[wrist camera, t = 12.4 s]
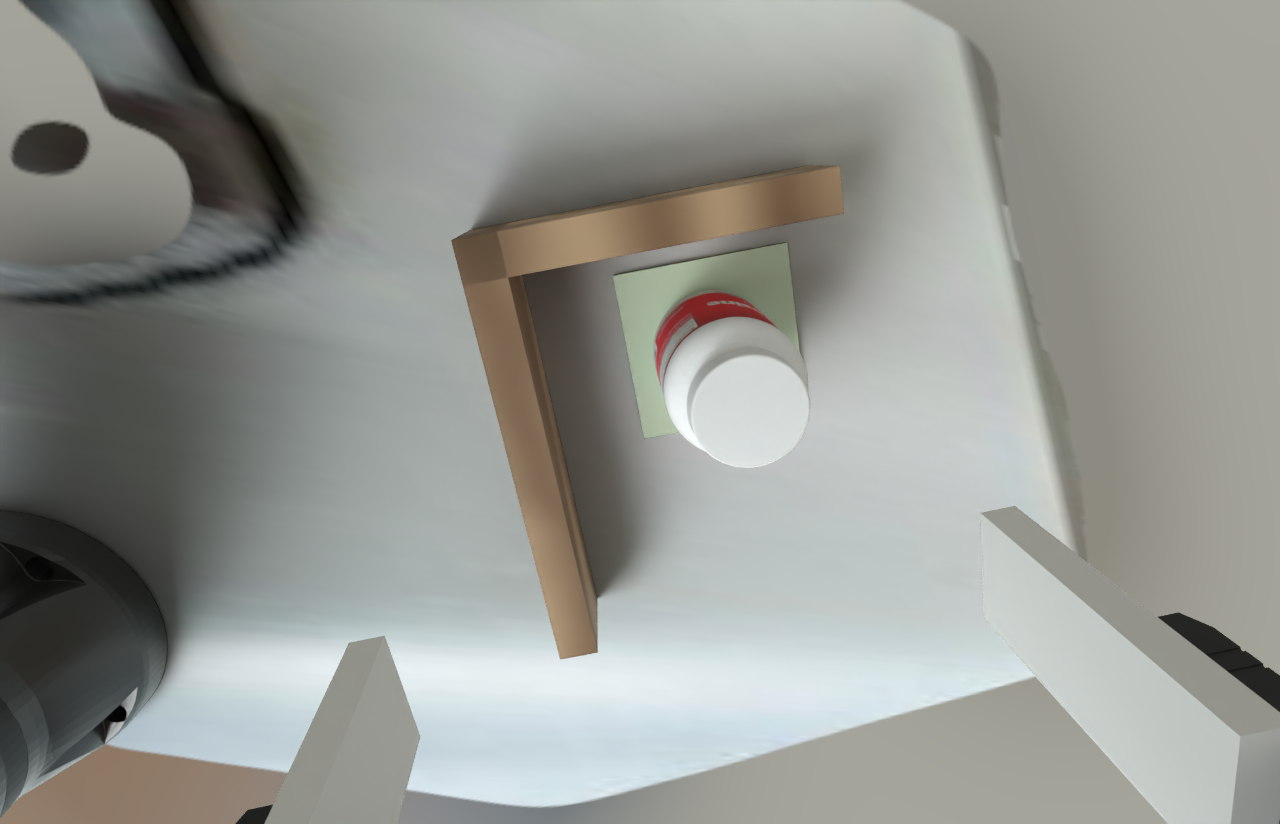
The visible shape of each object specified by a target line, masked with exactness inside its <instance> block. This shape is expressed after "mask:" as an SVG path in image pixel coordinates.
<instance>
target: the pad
mask: <svg viewBox="0 0 1280 824" xmlns="http://www.w3.org/2000/svg"><path fill="white" fill-rule="evenodd" d="M613 280H614V285H615V291H616V296H617V301H618V306H619V311H620V317H621V322H622V327H623V332H624V337H625V343H626V348H627V353H628V358H629V363H630V369H631V374H632V379H633V384H634V389H635V395H636V400H637V405H638V410H639V415H640V421H641V426H642V431H643V436H644V439H646V438H652V437H657V436H662V435H668V434H673V433H678V432H679V431H678V429H677V428H676V427H675V425H674V424H673V422H672V420H671V418H670V416H669V414H668V411H667V409H666V405H665V401H664V397H663V394H662V390H661V386H660V382H659V379H658V374H657V371H656V367H655V363H654V356H653V344H654V337H655V333H656V330H657V328H658V326H659V324H660V322H661V320H662V318H663V317H664V315H665V314H666V313H667V312H668V310H669V309H670V308H671V307H672V306H673V305H675V304H676V303H677V302H678V301H680V300H682V299H683V298H685V297H687V296H689V295H691V294H694V293H697V292H701V291H707V290H720V291H726V292H730V293H733V294H736V295H738V296H740V297H742V298H744V299H745V300H747V301H748V302H750V303H751V304H752V305H753V306H755V307H756V308H757V309H758V310H759V311H760V312H761V313H763V314H764V315H765V316H766V317H767V318H768V319H769V320H770V321H771V322H772V323H773V324H775V325H776V326H777V327H778V328H779V329H780V330H781V331H782V332H783V333H784V334H785V335H786V336H787V337H788V338H789V339H790V340H791V341H792V342H793V344H794V345H795V346H796V348H797V349H798V351H799V353H800V350H799V341H798V332H797V324H796V315H795V306H794V297H793V288H792V279H791V270H790V262H789V253H788V244H787V242H786V243H780V244H775V245H770V246H765V247H760V248H754V249H749V250H744V251H739V252H733V253H728V254H723V255H718V256H712V257H707V258H702V259H697V260H691V261H686V262H681V263H676V264H670V265H665V266H660V267H655V268H650V269H644V270H639V271H634V272H629V273H623V274H618V275H613Z"/></svg>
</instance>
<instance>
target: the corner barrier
mask: <svg viewBox="0 0 1280 824" xmlns="http://www.w3.org/2000/svg"><path fill="white" fill-rule="evenodd" d="M843 213H844V208H843V196H842V185H841V173H840V166H811V165H808V166H803V167H798V168H792V169H787V170H782V171H777V172H771V173H766V174H761V175H756V176H751V177H745V178H740V179H735V180H730V181H724V182H719V183H714V184H709V185H704V186H698V187H693V188H688V189H683V190H677V191H672V192H667V193H662V194H657V195H651V196H646V197H641V198H636V199H630V200H625V201H620V202H615V203H610V204H604V205H599V206H594V207H589V208H583V209H578V210H573V211H568V212H563V213H557V214H552V215H547V216H542V217H536V218H531V219H526V220H521V221H515V222H510V223H505V224H500V225H495V226H489V227H484V228H479V229H474V230H469V231H468V232H466V233H464V234H462V235H460V236H458V237H457V238H455V239H453V240H451V241H452V245H453V249H454V253H455V257H456V260H457V264H458V268H459V272H460V276H461V280H462V284H463V287H464V291H465V295H466V299H467V303H468V307H469V310H470V314H471V318H472V322H473V326H474V330H475V334H476V337H477V341H478V345H479V349H480V353H481V357H482V360H483V364H484V368H485V372H486V376H487V380H488V384H489V387H490V391H491V395H492V399H493V403H494V407H495V410H496V414H497V418H498V422H499V426H500V430H501V434H502V437H503V441H504V445H505V449H506V453H507V457H508V460H509V464H510V468H511V472H512V476H513V480H514V484H515V487H516V491H517V495H518V499H519V503H520V507H521V510H522V514H523V518H524V522H525V526H526V530H527V534H528V537H529V541H530V545H531V549H532V553H533V557H534V560H535V564H536V568H537V572H538V576H539V580H540V584H541V587H542V591H543V595H544V599H545V603H546V607H547V610H548V614H549V618H550V622H551V626H552V630H553V634H554V637H555V641H556V645H557V649H558V653H559V657H560V659H565V658H571V657H576V656H581V655H587V654H592V653H597V652H598V650H597V596H596V591H595V587H594V583H593V578H592V574H591V570H590V566H589V561H588V557H587V553H586V548H585V544H584V540H583V535H582V531H581V527H580V523H579V518H578V514H577V510H576V505H575V501H574V497H573V492H572V488H571V484H570V480H569V475H568V471H567V467H566V462H565V458H564V454H563V449H562V445H561V441H560V437H559V432H558V428H557V424H556V419H555V415H554V411H553V406H552V402H551V398H550V394H549V389H548V385H547V381H546V376H545V372H544V368H543V363H542V359H541V355H540V351H539V346H538V342H537V338H536V333H535V329H534V325H533V320H532V316H531V312H530V308H529V303H528V299H527V295H526V290H525V286H524V282H523V277H522V275H524V274H529V273H534V272H540V271H545V270H550V269H555V268H561V267H566V266H571V265H576V264H582V263H587V262H592V261H597V260H603V259H608V258H613V257H618V256H623V255H629V254H634V253H639V252H644V251H650V250H655V249H660V248H665V247H671V246H676V245H681V244H686V243H691V242H697V241H702V240H707V239H712V238H718V237H723V236H728V235H733V234H739V233H744V232H749V231H754V230H760V229H765V228H770V227H775V226H780V225H786V224H791V223H796V222H801V221H807V220H812V219H817V218H822V217H828V216H833V215H838V214H843Z"/></svg>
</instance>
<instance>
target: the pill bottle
mask: <svg viewBox="0 0 1280 824" xmlns="http://www.w3.org/2000/svg"><path fill="white" fill-rule="evenodd" d="M653 356H654V363H655V367H656V371H657V374H658V379H659V382H660V386H661V390H662V394H663V397H664V401H665V405H666V409H667V411H668V414H669V416H670V418H671V420H672V422H673V424H674V425H675V427H676V428H677V429H678V431H679V432H680V433H681V434H682V435H683V436H684V437H685V438H686V439H687V440H688V441H689V442H691V443H692V444H693V445H695V446H696V447H698V448H699V449H701V450H703V451H706V452H707V453H708V454H709V455H710V456H712V457H713V458H715V459H716V460H718V461H720V462H722V463H724V464H727V465H730V466H734V467H741V468H753V467H760V466H764V465H767V464H770V463H772V462H775V461H777V460H779V459H780V458H782V457H783V456H785V455H786V454H788V453H789V452H790V451H791V450H792V449H793V448H794V447H795V446H796V444H797V443H798V442H799V441H800V439H801V437H802V436H803V434H804V432H805V430H806V427H807V424H808V421H809V415H810V399H809V395H808V378H807V371H806V367H805V364H804V361H803V358H802V356H801V355H800V353H799V351H798V349H797V348H796V346H795V345H794V344H793V342H792V341H791V340H790V339H789V338H788V337H787V336H786V335H785V334H784V333H783V332H782V331H781V330H780V329H779V328H778V327H777V326H776V325H775V324H773V323H772V322H771V321H770V320H769V319H768V318H767V317H766V316H765V315H764V314H763V313H761V312H760V311H759V310H758V309H757V308H756V307H755V306H753V305H752V304H751V303H750V302H748V301H747V300H745V299H744V298H742V297H740V296H738V295H736V294H733V293H730V292H726V291H720V290H707V291H701V292H697V293H694V294H691V295H689V296H687V297H685V298H683V299H682V300H680V301H678V302H677V303H676V304H675V305H673V306H672V307H671V308H670V309H669V310H668V312H667V313H666V314H665V315H664V317H663V318H662V320H661V322H660V324H659V326H658V328H657V330H656V333H655V337H654V344H653Z"/></svg>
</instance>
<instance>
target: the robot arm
mask: <svg viewBox="0 0 1280 824" xmlns="http://www.w3.org/2000/svg"><path fill="white" fill-rule="evenodd" d="M981 543H982V575H983V606H984V620H985V621H986V622H987V623H988V624H989V625H990V626H991V627H992V629H993V630H994V631H995V632H996V633H997V634H998V635H999V636H1000V637H1001V639H1002V640H1003V641H1004V642H1005V643H1006V644H1007V645H1008V646H1009V647H1010V649H1011V650H1012V651H1013V652H1014V653H1015V654H1016V655H1017V656H1018V657H1019V659H1020V660H1021V661H1022V662H1023V663H1024V664H1025V665H1026V666H1027V667H1028V669H1029V670H1030V671H1031V672H1032V673H1033V674H1034V675H1035V676H1036V677H1037V679H1038V680H1039V681H1040V682H1041V683H1042V684H1043V685H1044V686H1045V687H1046V689H1047V690H1048V691H1049V692H1050V693H1051V694H1052V695H1053V696H1054V697H1055V698H1056V700H1057V701H1058V702H1059V703H1060V704H1061V705H1062V706H1063V707H1064V709H1065V710H1066V711H1067V712H1068V713H1069V714H1070V715H1071V716H1072V717H1073V719H1074V720H1075V721H1076V722H1077V723H1078V724H1079V725H1080V726H1081V727H1082V729H1083V730H1084V731H1085V732H1086V733H1087V734H1088V735H1089V736H1090V737H1091V739H1092V740H1093V741H1094V742H1095V743H1096V744H1097V745H1098V746H1099V748H1100V749H1101V750H1102V751H1103V752H1104V753H1105V754H1106V755H1107V756H1108V757H1109V759H1110V760H1111V761H1112V762H1113V763H1114V764H1115V765H1116V766H1117V768H1118V769H1119V770H1120V771H1121V772H1122V773H1123V774H1124V775H1125V776H1126V778H1128V780H1129V781H1130V782H1131V783H1132V784H1133V785H1134V786H1135V788H1136V789H1137V790H1138V791H1139V792H1140V793H1141V794H1142V795H1143V796H1144V798H1145V799H1146V800H1147V801H1148V802H1149V803H1150V804H1151V805H1152V806H1153V808H1155V810H1156V811H1157V812H1158V813H1159V814H1160V815H1161V816H1162V818H1163V819H1164V820H1165V821H1166V822H1167V823H1168V824H1280V676H1279V675H1278V674H1277V673H1275V672H1274V671H1273V670H1271V669H1270V668H1265V667H1264V666H1263V663H1261V662H1260V661H1259V660H1257V659H1256V658H1255V657H1253V656H1252V655H1251V654H1249V653H1247V652H1246V651H1244V652H1243V651H1242V650H1241V649H1240V647H1239V646H1238V645H1237V644H1235V643H1234V642H1233V641H1231V640H1230V639H1229V638H1227V637H1226V636H1224V635H1223V634H1222V633H1220V632H1219V631H1218V630H1216V629H1215V628H1213V627H1211V626H1209V625H1206V624H1204V623H1202V622H1199V621H1197V620H1195V619H1192V618H1190V617H1188V616H1185V615H1183V614H1181V613H1174V614H1170V615H1165V616H1160V617H1156V616H1155V615H1154V614H1153V613H1151V612H1150V611H1149V610H1148V609H1146V608H1145V607H1144V606H1143V605H1141V604H1140V603H1138V602H1137V601H1136V600H1135V599H1134V598H1132V597H1131V596H1130V595H1128V594H1127V593H1126V592H1125V591H1123V590H1122V589H1121V588H1119V587H1118V586H1117V585H1115V584H1114V583H1113V582H1112V581H1110V580H1109V579H1108V578H1107V577H1105V576H1104V575H1103V574H1101V573H1100V572H1099V571H1097V570H1096V569H1095V568H1094V567H1092V566H1091V565H1090V564H1089V563H1087V562H1086V561H1085V560H1083V559H1082V558H1081V557H1080V556H1078V555H1077V554H1076V553H1074V552H1073V551H1072V550H1071V549H1069V548H1068V547H1067V546H1065V545H1064V544H1063V543H1062V542H1060V541H1059V540H1058V539H1056V538H1055V537H1054V536H1053V535H1051V534H1050V533H1049V532H1047V531H1046V530H1045V529H1044V528H1042V527H1041V526H1040V525H1038V524H1037V523H1036V522H1035V521H1033V520H1032V519H1031V518H1029V517H1028V516H1027V515H1026V514H1024V513H1023V512H1022V511H1020V510H1019V509H1018V508H1017V507H1015V506H1012V507H1007V508H1003V509H998V510H993V511H988V512H983V513H981ZM166 658H167V639H166V632H165V627H164V623H163V620H162V617H161V614H160V612H159V609H158V607H157V605H156V603H155V601H154V599H153V597H152V596H151V594H150V592H149V591H148V589H147V588H146V586H145V585H144V584H143V582H142V581H141V580H140V578H139V577H138V576H137V575H136V574H135V573H134V572H133V570H132V569H131V568H130V567H129V566H128V565H127V564H126V563H125V562H123V561H122V560H121V559H120V558H119V557H118V556H117V555H115V554H114V553H113V552H112V551H110V550H109V549H108V548H106V547H105V546H103V545H102V544H100V543H99V542H97V541H96V540H94V539H92V538H91V537H89V536H87V535H85V534H83V533H81V532H79V531H77V530H75V529H73V528H71V527H68V526H66V525H63V524H61V523H58V522H55V521H52V520H49V519H45V518H42V517H38V516H33V515H29V514H23V513H16V512H5V511H0V818H1V816H2V815H3V814H4V813H5V812H6V811H7V810H8V809H9V808H10V807H11V806H12V805H13V803H15V801H16V800H17V799H18V798H19V797H21V796H22V795H24V794H26V793H27V792H29V791H31V790H32V789H34V788H35V787H37V786H39V785H40V784H42V783H43V782H45V781H47V780H48V779H50V778H52V777H53V776H55V775H56V774H58V773H60V772H61V771H63V770H64V769H66V768H68V767H69V766H71V765H72V764H74V763H76V762H77V761H79V760H80V759H82V758H84V757H85V756H87V755H89V754H90V753H92V752H93V751H95V750H97V749H98V748H100V747H101V746H103V745H105V744H106V743H108V742H109V741H110V740H111V739H113V738H114V737H115V736H116V735H118V734H119V733H120V732H121V731H122V730H123V729H124V728H125V727H126V726H127V725H128V724H129V723H130V722H131V720H132V719H133V718H134V717H135V716H136V714H137V713H138V712H139V711H140V710H141V709H142V707H143V706H144V705H145V704H146V703H147V701H148V700H149V699H150V698H151V696H152V695H153V693H154V692H155V690H156V689H157V687H158V685H159V683H160V681H161V678H162V675H163V673H164V669H165V665H166ZM419 740H420V735H419V732H418V729H417V726H416V723H415V720H414V718H413V715H412V712H411V709H410V706H409V703H408V701H407V698H406V695H405V692H404V689H403V686H402V684H401V681H400V678H399V675H398V672H397V670H396V667H395V664H394V661H393V658H392V655H391V653H390V650H389V647H388V644H387V641H386V638H385V636H381V637H376V638H371V639H366V640H361V641H357V642H352V643H349V644H348V647H347V649H346V651H345V653H344V655H343V657H342V659H341V661H340V664H339V666H338V668H337V670H336V672H335V674H334V676H333V679H332V681H331V683H330V685H329V687H328V689H327V691H326V693H325V696H324V698H323V700H322V702H321V704H320V706H319V708H318V711H317V713H316V715H315V717H314V719H313V721H312V723H311V725H310V728H309V730H308V732H307V734H306V736H305V738H304V740H303V742H302V745H301V747H300V749H299V751H298V753H297V755H296V757H295V760H294V762H293V764H292V766H291V768H290V770H289V772H288V774H287V777H286V779H285V781H284V783H283V785H282V787H281V789H280V792H279V794H278V796H277V798H276V800H275V803H274V804H273V805H269V806H265V807H260V808H255V809H250V810H247V811H246V813H245V814H244V815H243V816H242V817H241V818H240V819H239V821H238V822H237V823H236V824H397V822H398V817H399V814H400V810H401V807H402V803H403V799H404V796H405V792H406V788H407V784H408V781H409V777H410V773H411V770H412V766H413V762H414V758H415V755H416V751H417V747H418V743H419Z"/></svg>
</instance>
